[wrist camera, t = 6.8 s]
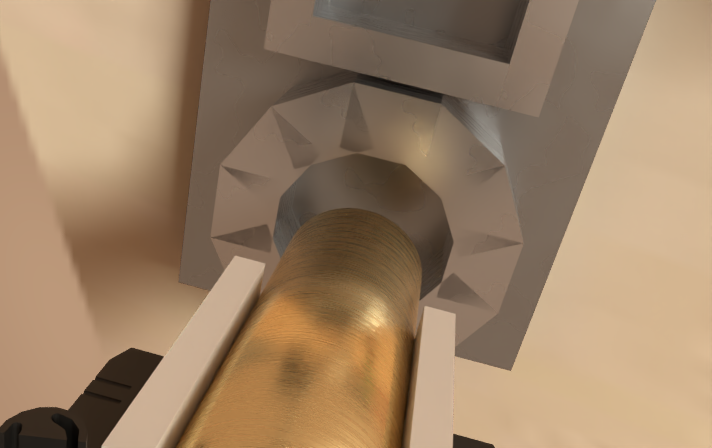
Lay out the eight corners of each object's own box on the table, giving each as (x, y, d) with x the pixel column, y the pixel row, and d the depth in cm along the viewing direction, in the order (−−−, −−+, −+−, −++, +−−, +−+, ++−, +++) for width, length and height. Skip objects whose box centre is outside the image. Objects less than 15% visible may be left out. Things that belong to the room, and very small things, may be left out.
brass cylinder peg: (297, 192, 19) (139, 442, 10) (437, 227, 18) (412, 516, 9) (275, 311, 20) (123, 619, 11) (403, 345, 20) (354, 686, 11)
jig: (263, -266, 20) (209, -317, 16) (700, -167, 19) (766, -193, 15) (197, 258, 27) (149, 318, 23) (507, 340, 27) (515, 417, 23)
